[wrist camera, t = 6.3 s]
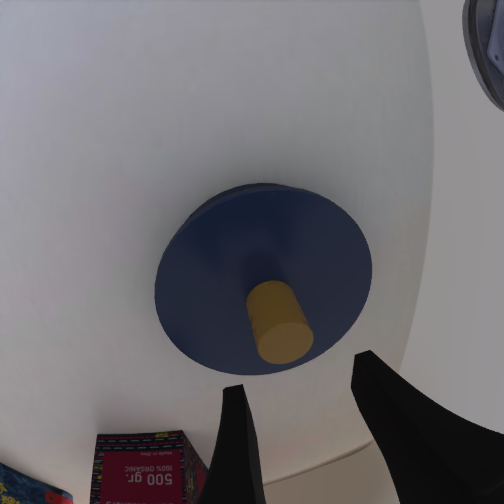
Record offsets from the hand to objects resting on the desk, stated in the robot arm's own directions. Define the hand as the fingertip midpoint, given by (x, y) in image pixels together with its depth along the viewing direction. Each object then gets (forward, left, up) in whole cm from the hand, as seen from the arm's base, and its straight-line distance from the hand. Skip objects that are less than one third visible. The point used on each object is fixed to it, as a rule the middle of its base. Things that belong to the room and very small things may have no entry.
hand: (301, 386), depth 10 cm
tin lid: (0, 0, -6) cm, 6 cm away
